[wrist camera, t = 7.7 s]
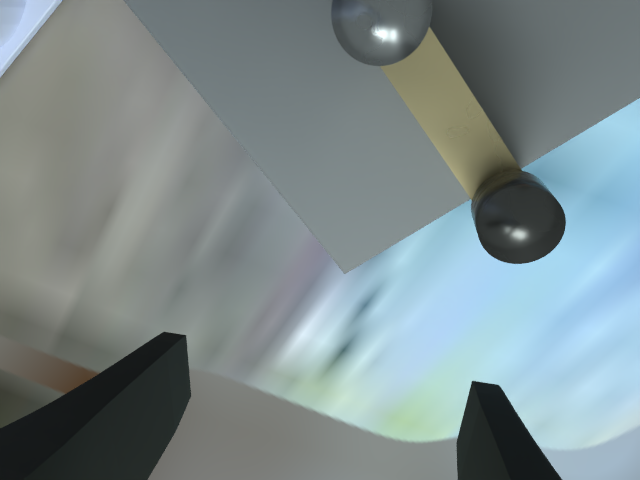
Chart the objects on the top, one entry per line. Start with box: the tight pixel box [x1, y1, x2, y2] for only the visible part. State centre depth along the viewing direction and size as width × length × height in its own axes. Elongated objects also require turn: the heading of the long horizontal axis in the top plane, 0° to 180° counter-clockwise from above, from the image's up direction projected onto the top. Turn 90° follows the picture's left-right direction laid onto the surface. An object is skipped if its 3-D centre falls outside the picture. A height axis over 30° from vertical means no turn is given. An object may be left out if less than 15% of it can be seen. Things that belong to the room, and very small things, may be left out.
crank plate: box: [124, 0, 640, 274], centre depth 16 cm, size 14×14×1 cm
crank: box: [331, 0, 566, 264], centre depth 14 cm, size 9×3×5 cm, turn 38°
